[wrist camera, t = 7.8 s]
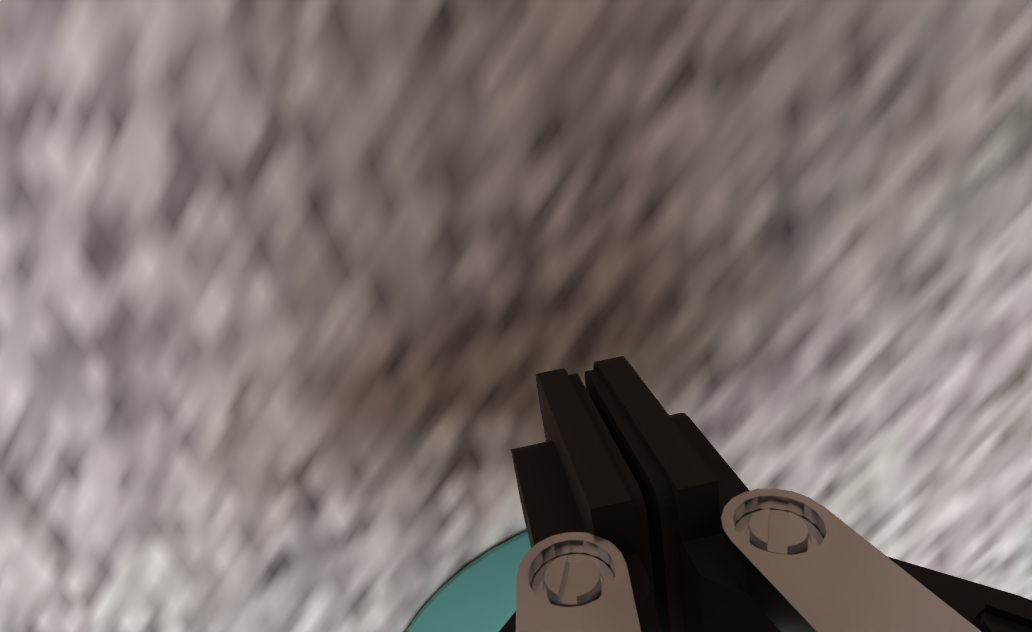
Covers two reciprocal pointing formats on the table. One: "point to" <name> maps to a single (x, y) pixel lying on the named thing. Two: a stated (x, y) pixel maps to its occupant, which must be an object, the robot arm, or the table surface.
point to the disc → (477, 593)
